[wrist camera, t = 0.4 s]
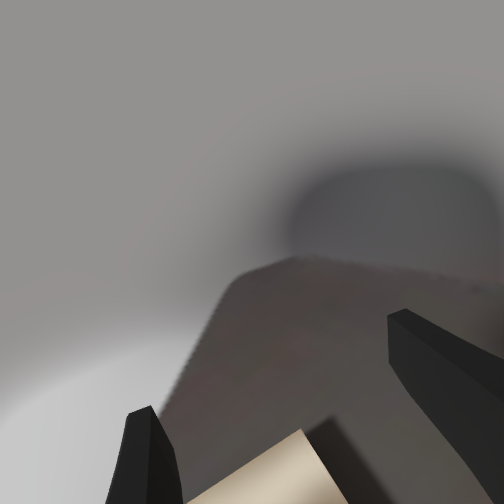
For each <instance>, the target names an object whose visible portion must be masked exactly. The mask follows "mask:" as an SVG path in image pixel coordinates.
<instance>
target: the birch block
mask: <svg viewBox="0 0 504 504" xmlns="http://www.w3.org/2000/svg"><path fill="white" fill-rule="evenodd" d="M187 504H348V503H347V501H346V499H345V498H344V496H343V495H342V493H341V492H340V490H339V488H338V487H337V485H336V484H335V482H334V481H333V479H332V477H331V476H330V474H329V473H328V471H327V470H326V468H325V466H324V465H323V463H322V462H321V460H320V459H319V457H318V455H317V454H316V452H315V451H314V449H313V448H312V446H311V444H310V443H309V441H308V440H307V438H306V437H305V435H304V433H303V432H302V430H301V429H299V430H298V431H296V432H295V433H293V434H292V435H290V436H289V437H287V438H285V439H284V440H282V441H281V442H279V443H278V444H276V445H275V446H273V447H272V448H270V449H269V450H267V451H266V452H264V453H263V454H261V455H260V456H258V457H257V458H255V459H254V460H252V461H251V462H249V463H248V464H246V465H245V466H243V467H242V468H240V469H238V470H237V471H235V472H234V473H232V474H231V475H229V476H228V477H226V478H225V479H223V480H222V481H220V482H219V483H217V484H216V485H214V486H213V487H211V488H210V489H208V490H207V491H205V492H204V493H202V494H201V495H199V496H198V497H196V498H195V499H193V500H191V501H190V502H188V503H187Z"/></svg>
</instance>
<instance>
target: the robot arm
mask: <svg viewBox="0 0 504 504" xmlns="http://www.w3.org/2000/svg"><path fill="white" fill-rule="evenodd" d="M387 319H388V349H389V363H390V365H391V367H392V368H393V370H394V371H395V373H396V375H397V376H398V378H399V379H400V381H401V382H402V384H403V385H404V387H405V389H406V390H407V392H408V393H409V394H410V395H411V397H412V398H413V399H414V400H415V402H416V403H417V404H418V405H419V407H420V408H421V409H422V410H423V412H424V413H425V414H426V415H427V416H428V418H429V419H430V420H431V421H432V422H433V424H434V425H435V426H436V427H437V429H438V430H439V431H440V432H441V433H442V435H443V436H444V437H445V438H446V439H447V441H448V442H449V443H450V444H451V446H452V447H453V448H454V449H455V450H456V452H457V453H458V454H459V455H460V457H461V458H462V459H463V460H464V462H465V463H466V464H467V466H468V467H469V468H470V470H471V471H472V472H473V474H474V475H475V477H476V478H477V480H478V481H479V483H480V484H481V486H482V487H483V488H484V490H485V491H486V493H487V494H488V496H489V497H490V499H491V500H492V502H493V503H494V504H504V360H503V359H501V358H499V357H497V356H495V355H492V354H490V353H488V352H486V351H484V350H482V349H480V348H478V347H476V346H475V345H473V344H471V343H469V342H467V341H465V340H463V339H461V338H459V337H457V336H455V335H453V334H452V333H450V332H448V331H446V330H444V329H442V328H440V327H439V326H437V325H435V324H433V323H431V322H430V321H428V320H426V319H424V318H422V317H421V316H419V315H417V314H415V313H413V312H411V311H410V310H408V309H403V310H400V311H398V312H395V313H392V314H390V315H387ZM105 504H183V498H182V488H181V482H180V477H179V472H178V467H177V462H176V458H175V453H174V448H173V446H172V444H171V443H170V441H169V439H168V437H167V435H166V433H165V431H164V429H163V427H162V425H161V423H160V422H159V420H158V418H157V416H156V414H155V412H154V410H153V408H152V406H151V405H150V406H148V407H145V408H142V409H140V410H137V411H134V412H132V413H129V415H128V416H127V418H126V423H125V428H124V434H123V438H122V443H121V447H120V451H119V455H118V460H117V464H116V468H115V471H114V475H113V478H112V482H111V485H110V489H109V493H108V496H107V499H106V503H105Z"/></svg>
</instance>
